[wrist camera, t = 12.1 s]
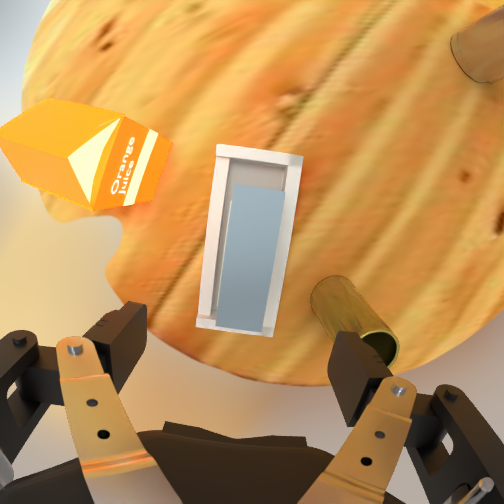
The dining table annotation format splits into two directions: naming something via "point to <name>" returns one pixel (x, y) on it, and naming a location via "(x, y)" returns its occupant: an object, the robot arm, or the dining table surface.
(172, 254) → the dining table surface
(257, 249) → the pale blue flat slab
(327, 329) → the vase
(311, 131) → the dining table surface
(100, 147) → the orange juice
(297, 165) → the white rectangular tray
